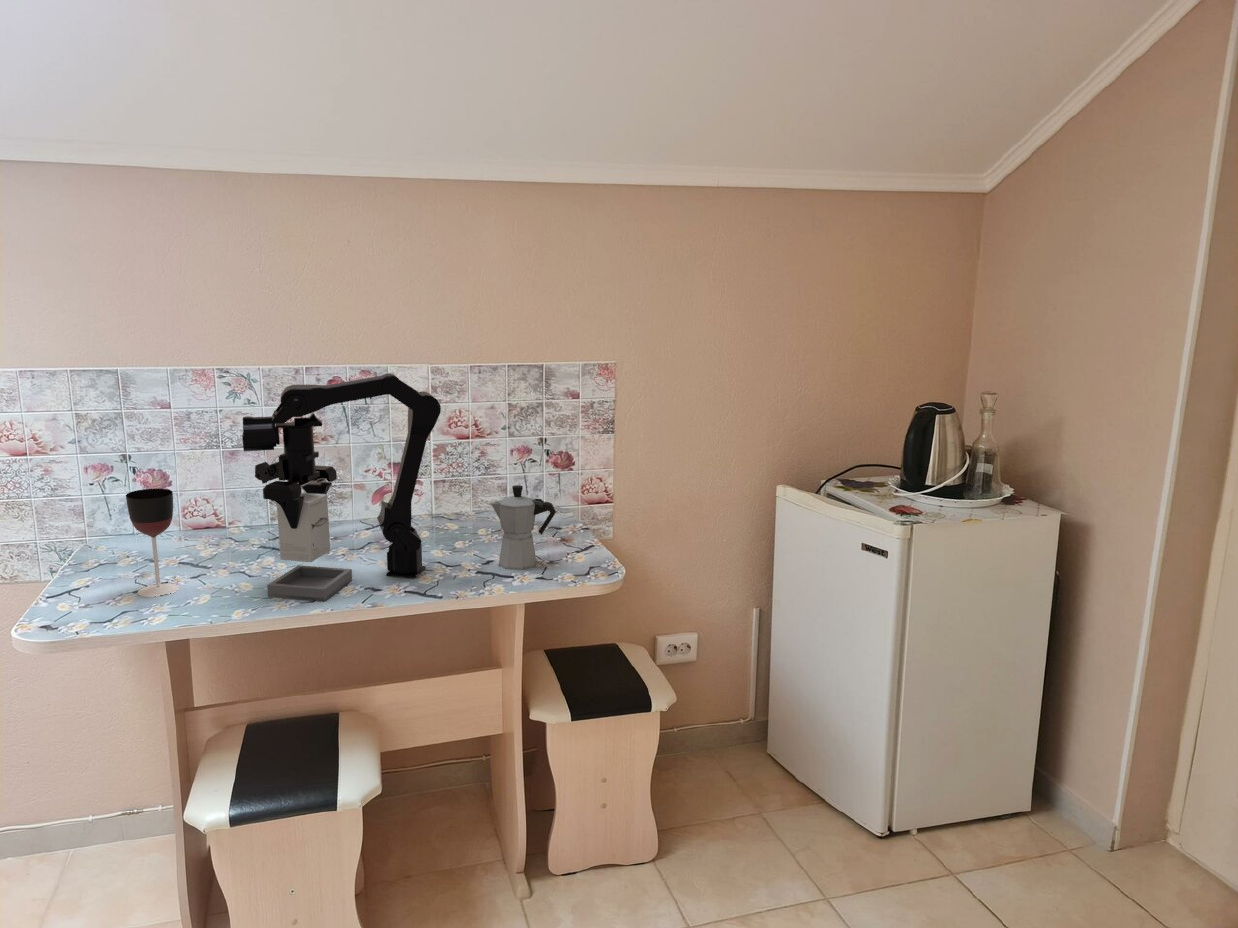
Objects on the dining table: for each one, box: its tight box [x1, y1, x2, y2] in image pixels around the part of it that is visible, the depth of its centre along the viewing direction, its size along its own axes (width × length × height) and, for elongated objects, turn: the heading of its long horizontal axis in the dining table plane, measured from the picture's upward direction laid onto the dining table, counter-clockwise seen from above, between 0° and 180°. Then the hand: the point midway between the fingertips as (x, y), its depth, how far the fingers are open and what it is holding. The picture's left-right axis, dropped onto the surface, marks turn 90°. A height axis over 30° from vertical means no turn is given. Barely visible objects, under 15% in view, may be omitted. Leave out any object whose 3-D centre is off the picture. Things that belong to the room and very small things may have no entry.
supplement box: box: [276, 492, 331, 563], centre depth 177 cm, size 7×7×13 cm
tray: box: [267, 564, 353, 602], centre depth 176 cm, size 12×12×2 cm
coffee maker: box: [488, 484, 557, 571], centre depth 192 cm, size 15×9×18 cm, turn 88°
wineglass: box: [125, 488, 181, 598], centre depth 171 cm, size 8×9×20 cm
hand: (304, 523), depth 177 cm, fingers closed on supplement box, 7 cm apart
